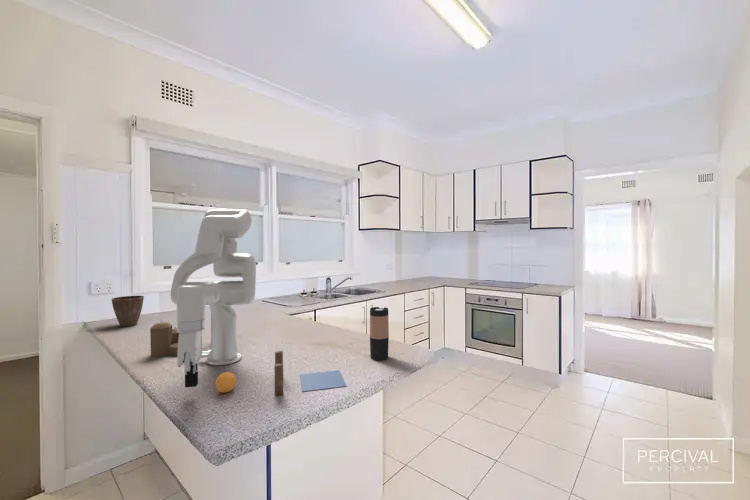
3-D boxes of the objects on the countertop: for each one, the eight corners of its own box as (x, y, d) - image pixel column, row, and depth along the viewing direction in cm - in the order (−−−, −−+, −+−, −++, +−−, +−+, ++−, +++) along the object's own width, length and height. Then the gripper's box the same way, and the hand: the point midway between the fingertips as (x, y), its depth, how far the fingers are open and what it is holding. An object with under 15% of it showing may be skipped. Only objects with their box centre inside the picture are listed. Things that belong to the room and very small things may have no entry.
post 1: (275, 379, 114) (274, 353, 114) (275, 376, 117) (275, 351, 116) (283, 378, 115) (282, 352, 115) (283, 375, 117) (282, 350, 117)
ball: (213, 397, 101) (213, 377, 101) (217, 388, 107) (217, 370, 107) (235, 394, 103) (234, 375, 103) (237, 386, 109) (237, 368, 109)
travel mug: (375, 362, 130) (375, 311, 130) (366, 356, 137) (366, 307, 137) (392, 359, 134) (392, 309, 133) (383, 353, 141) (382, 306, 140)
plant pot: (104, 328, 185) (104, 299, 185) (128, 321, 200) (128, 295, 200) (128, 329, 183) (127, 300, 182) (150, 322, 197) (150, 295, 197)
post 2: (274, 396, 101) (274, 367, 101) (274, 392, 104) (274, 364, 104) (283, 395, 102) (283, 366, 102) (283, 391, 105) (283, 363, 104)
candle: (153, 360, 134) (153, 323, 133) (148, 352, 144) (147, 317, 143) (191, 353, 143) (191, 318, 142) (183, 345, 153) (183, 313, 152)
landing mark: (302, 391, 105) (302, 391, 105) (299, 375, 118) (299, 374, 118) (346, 386, 108) (346, 385, 108) (339, 370, 122) (339, 370, 122)
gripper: (184, 321, 108) (184, 378, 108) (169, 332, 94) (169, 397, 93) (209, 320, 110) (209, 375, 110) (199, 330, 96) (199, 394, 96)
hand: (191, 385), depth 102 cm, fingers closed
